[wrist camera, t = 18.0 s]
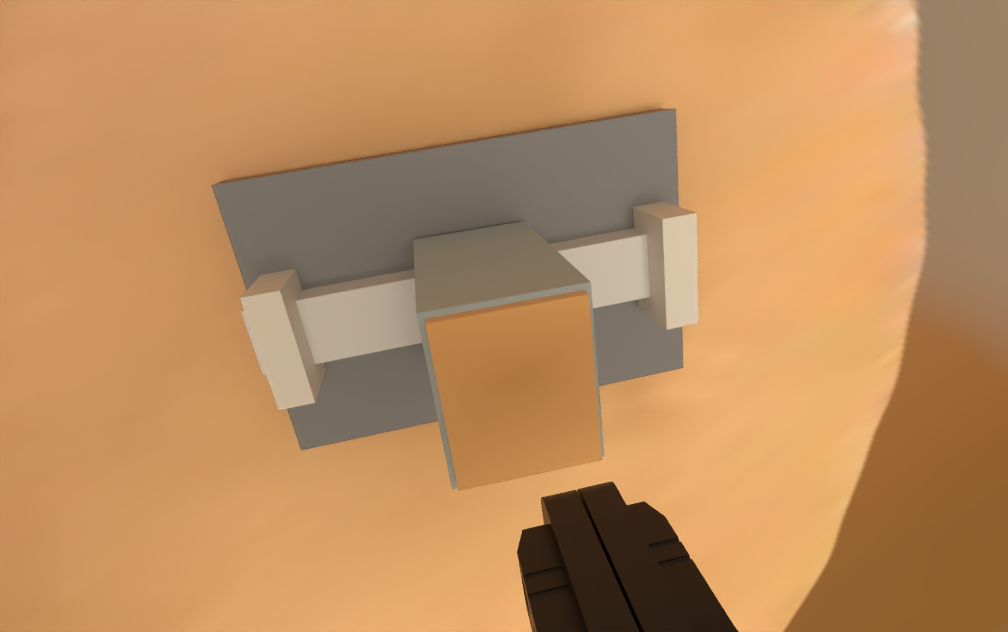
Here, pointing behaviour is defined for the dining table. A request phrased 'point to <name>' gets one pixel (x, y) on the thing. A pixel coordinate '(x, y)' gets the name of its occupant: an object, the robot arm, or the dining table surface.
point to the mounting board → (442, 210)
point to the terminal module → (508, 353)
